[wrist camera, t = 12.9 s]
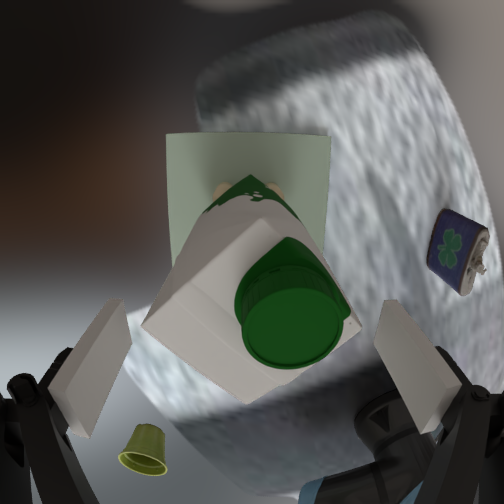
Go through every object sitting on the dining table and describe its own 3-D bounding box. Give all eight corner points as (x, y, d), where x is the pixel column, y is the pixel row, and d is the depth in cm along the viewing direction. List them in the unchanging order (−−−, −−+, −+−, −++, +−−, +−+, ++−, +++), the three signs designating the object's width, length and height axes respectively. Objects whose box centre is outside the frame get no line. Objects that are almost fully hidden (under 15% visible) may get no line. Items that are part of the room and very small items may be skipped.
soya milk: (309, 225, 31) (393, 354, 12) (243, 280, 33) (245, 443, 14) (250, 160, 28) (265, 206, 10) (184, 222, 30) (106, 352, 12)
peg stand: (327, 136, 33) (342, 136, 27) (316, 279, 39) (326, 301, 34) (169, 134, 32) (156, 133, 27) (176, 278, 39) (167, 300, 33)
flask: (436, 269, 39) (477, 304, 29) (421, 267, 39) (462, 304, 29) (453, 209, 36) (501, 233, 26) (438, 205, 36) (487, 229, 26)
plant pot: (132, 411, 49) (121, 446, 41) (178, 428, 50) (172, 464, 42) (124, 432, 52) (115, 464, 43) (166, 447, 53) (160, 480, 45)
